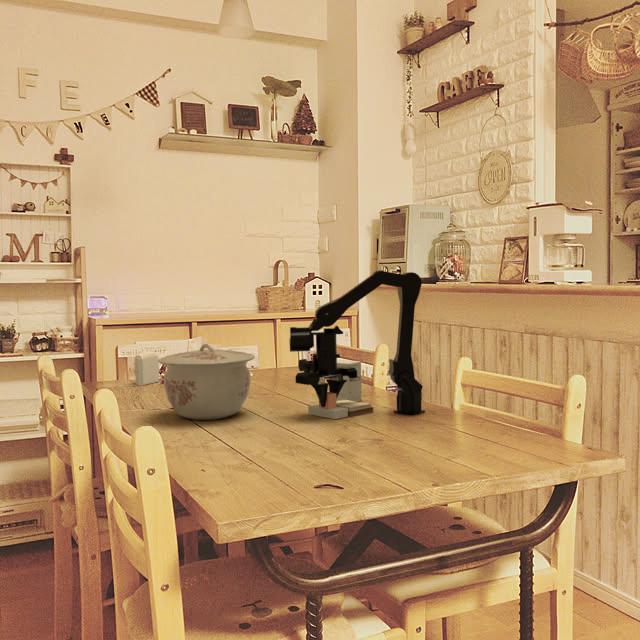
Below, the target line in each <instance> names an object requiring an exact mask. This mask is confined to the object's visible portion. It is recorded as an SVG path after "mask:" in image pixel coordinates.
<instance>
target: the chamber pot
mask: <svg viewBox="0 0 640 640" xmlns="http://www.w3.org/2000/svg"><path fill="white" fill-rule="evenodd" d="M255 358H256V356H255V355H254V354H252V353H247V352H243V351H237V350H230V349H229V350H228V349H227V350H226V349H214V348H213V347H212V345H210V344H208V343H205V344H202V345H201V347H200V348H199V349H198V350H192V351H185V352H184V351H183V352H178V353H173V354H169V355H166V356H163V357H160V358H158V362H159V365H160V364H161V365H166V368H167V370H166V372H165V374H164V375H163V388H164V391H165V395H166V399H167V401H168V402H169V403H170V405H171V407H172V408H173V410H174V411H175V413H176V414H177V415H178V416H180V417H183V418H186V419H189V420H193V421H214V420H220V419H221V420H222V419H226V418H229V417H231V416H233V415H236V414H238V412H240V410H241V409H242V407H243V406H244V403H246V400H247V398H248V397H249V395H250V388H251V384H252V383H251V381H252V380H251V378H252V375H251V374H252V373H251V372H250V369H249V368H248V367H247V364H248V362H250V361H253V360H254V359H255Z"/></svg>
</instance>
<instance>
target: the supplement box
mask: <svg viewBox="0 0 640 640" xmlns="http://www.w3.org/2000/svg"><path fill="white" fill-rule="evenodd" d="M343 366H346V367H354V368H355V369H356V370H357V377H356V378H349V377H348V376H343V380H347V382H345V383H344V385H343V387H342V389H341V391H340V393H339V395H338V397H337V399H336V401H339V400H350V401H356V402H362V361H360V360H347V359H346V360H344V359H343V360H337V367H343Z"/></svg>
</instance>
